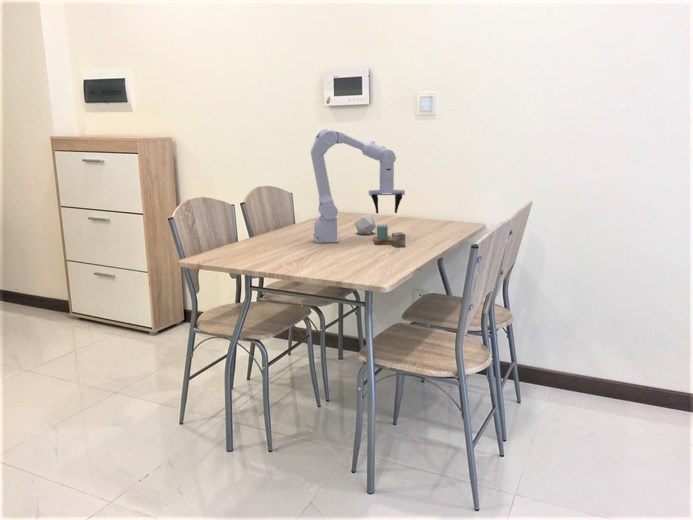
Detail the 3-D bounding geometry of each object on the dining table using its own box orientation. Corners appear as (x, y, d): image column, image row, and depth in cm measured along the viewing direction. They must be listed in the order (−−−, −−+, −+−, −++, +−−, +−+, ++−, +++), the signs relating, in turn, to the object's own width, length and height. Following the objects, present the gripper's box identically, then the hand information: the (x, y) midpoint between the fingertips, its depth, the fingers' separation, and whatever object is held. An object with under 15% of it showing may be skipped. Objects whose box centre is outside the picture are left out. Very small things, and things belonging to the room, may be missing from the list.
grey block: (395, 247, 223) (395, 234, 222) (391, 245, 227) (391, 232, 226) (405, 246, 224) (405, 234, 223) (401, 244, 228) (401, 232, 227)
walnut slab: (374, 246, 228) (374, 240, 227) (373, 242, 235) (373, 236, 234) (392, 246, 228) (392, 240, 227) (390, 242, 235) (390, 236, 234)
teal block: (377, 239, 229) (377, 226, 228) (376, 237, 233) (376, 225, 231) (387, 239, 229) (387, 226, 227) (386, 237, 233) (387, 224, 231)
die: (362, 237, 245) (376, 219, 243) (347, 226, 248) (361, 208, 247) (369, 241, 252) (382, 223, 251) (355, 229, 255) (368, 212, 254)
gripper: (369, 180, 231) (369, 214, 234) (405, 180, 231) (405, 214, 235) (368, 179, 238) (368, 212, 241) (403, 178, 238) (403, 211, 242)
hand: (386, 212), depth 238 cm, fingers open, 7 cm apart
